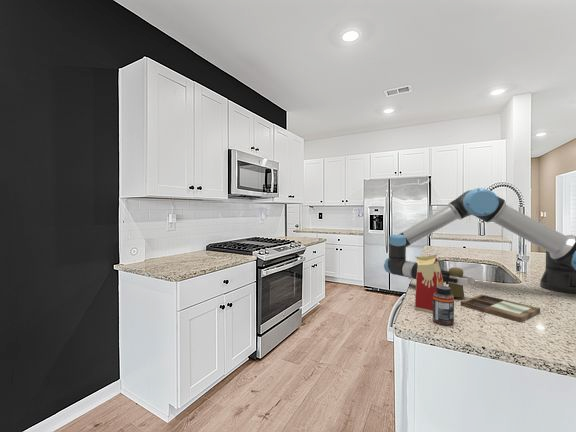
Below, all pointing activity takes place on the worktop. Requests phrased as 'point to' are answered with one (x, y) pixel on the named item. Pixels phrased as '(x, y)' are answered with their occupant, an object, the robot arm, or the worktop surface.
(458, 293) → the cork
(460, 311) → the worktop surface
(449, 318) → the supplement bottle
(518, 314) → the board
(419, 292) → the milk carton
